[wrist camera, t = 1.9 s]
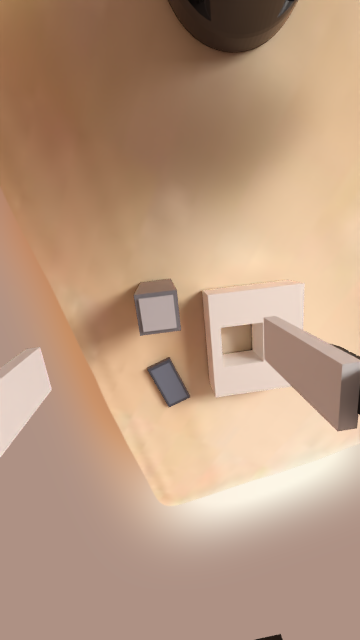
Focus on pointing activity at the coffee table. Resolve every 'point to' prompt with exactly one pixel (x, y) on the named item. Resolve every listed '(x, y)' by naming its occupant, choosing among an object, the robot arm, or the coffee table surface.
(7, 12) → the coffee table surface
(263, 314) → the outlet plate
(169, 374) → the phone
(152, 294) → the block
